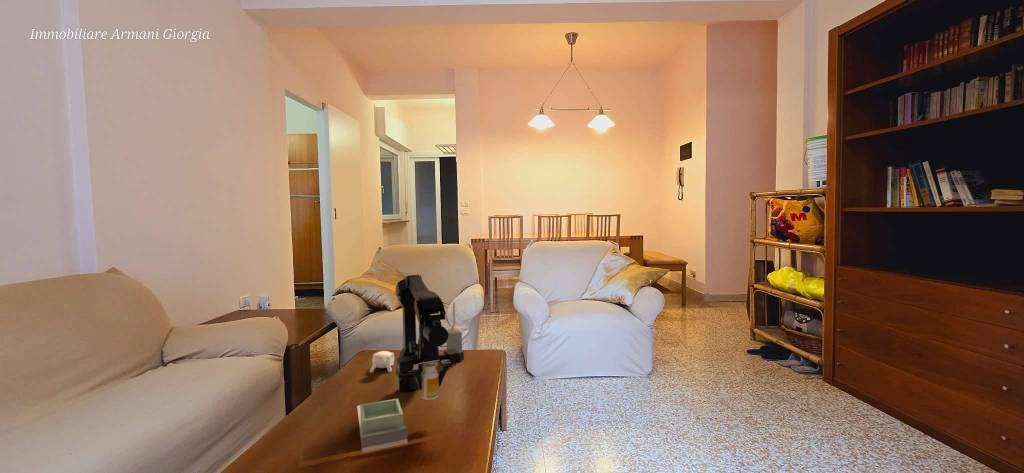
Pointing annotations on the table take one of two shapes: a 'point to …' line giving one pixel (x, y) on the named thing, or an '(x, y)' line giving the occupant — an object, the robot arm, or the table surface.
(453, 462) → the table surface
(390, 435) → the board
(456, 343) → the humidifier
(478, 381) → the table surface
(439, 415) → the table surface
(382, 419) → the sage green storage bin
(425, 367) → the supplement bottle
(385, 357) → the white animal figurine
